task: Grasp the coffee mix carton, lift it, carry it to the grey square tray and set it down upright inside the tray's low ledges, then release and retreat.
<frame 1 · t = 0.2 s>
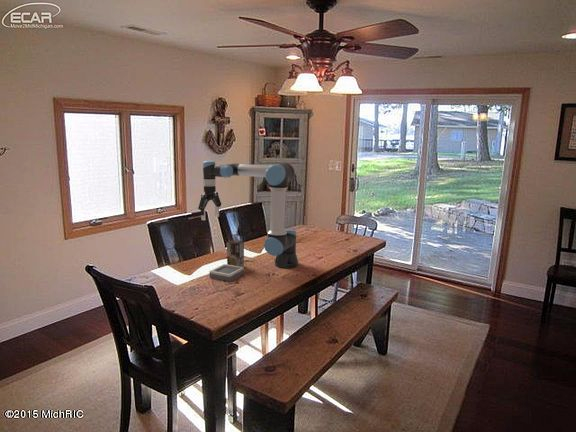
hand: (210, 218, 267), 28 cm above the table, fingers open, 13 cm apart
coffee box: (235, 267, 258), on the table
grey square tray: (227, 275, 243), on the table
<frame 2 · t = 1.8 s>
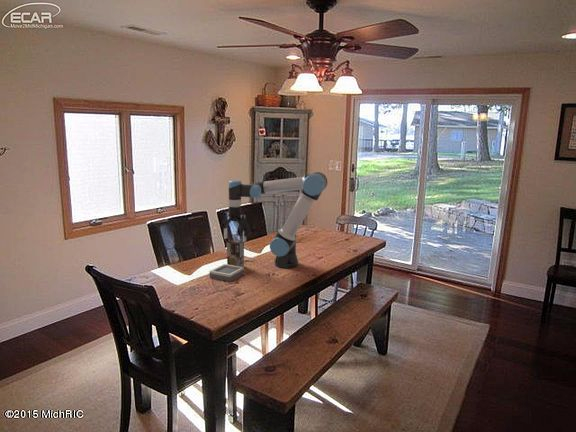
hand: (235, 240, 255), 17 cm above the table, fingers open, 13 cm apart
nothing on the table moved.
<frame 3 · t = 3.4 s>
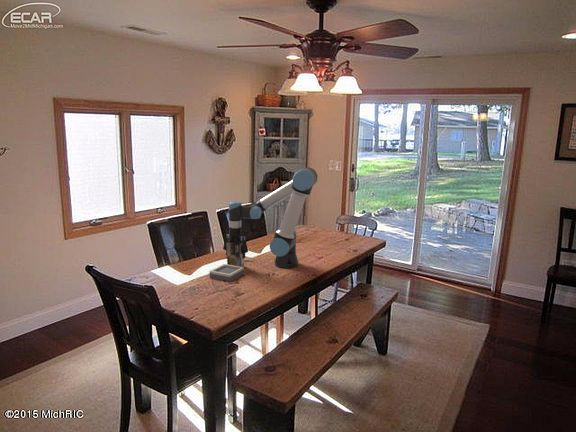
hand: (235, 262, 258), 3 cm above the table, fingers closed on coffee box, 9 cm apart
coffee box: (235, 267, 258), on the table, touching gripper
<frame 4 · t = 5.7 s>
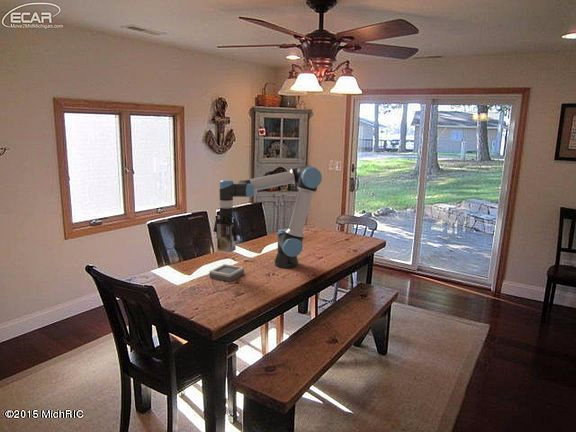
hand: (226, 245, 240), 18 cm above the table, fingers closed on coffee box, 9 cm apart
coffee box: (226, 250, 241), point 15 cm above the table, touching gripper
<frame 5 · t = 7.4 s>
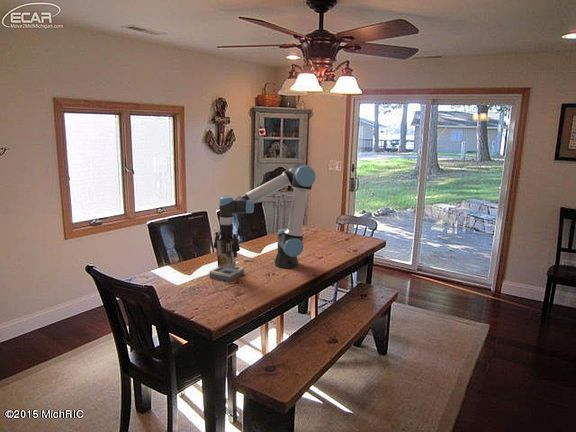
hand: (226, 261, 241), 9 cm above the table, fingers closed on coffee box, 9 cm apart
coffee box: (226, 266, 242), point 5 cm above the table, touching gripper
when the fingers open (6 cm above the table, at t = 8.4 s): coffee box stays where it is, resting on grey square tray.
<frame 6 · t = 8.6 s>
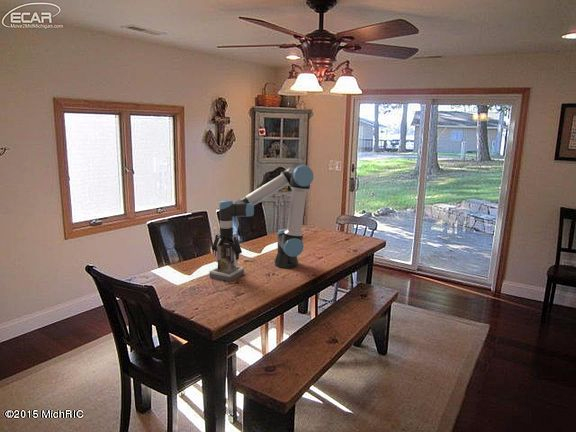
hand: (226, 263, 241), 7 cm above the table, fingers open, 12 cm apart
coffee box: (226, 271, 243), point 2 cm above the table, touching grey square tray
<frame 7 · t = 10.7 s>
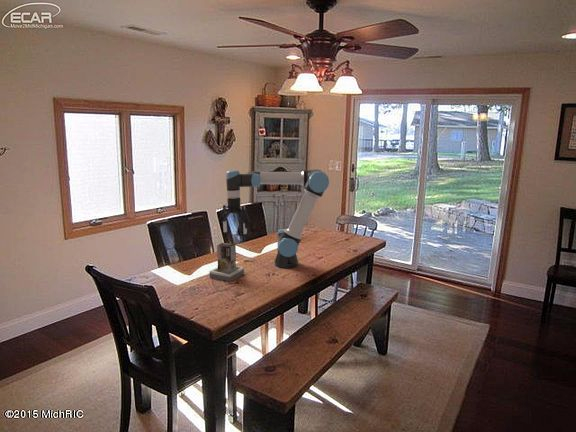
hand: (235, 232, 245), 24 cm above the table, fingers open, 13 cm apart
nothing on the table moved.
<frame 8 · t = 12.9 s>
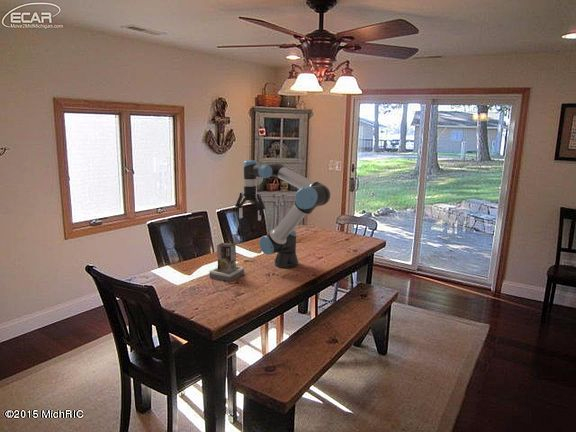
hand: (250, 219, 261), 29 cm above the table, fingers open, 13 cm apart
nothing on the table moved.
at the end: coffee box 0.2 cm from the grey square tray (horizontally); coffee box tilted 0°; coffee box touching grey square tray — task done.
